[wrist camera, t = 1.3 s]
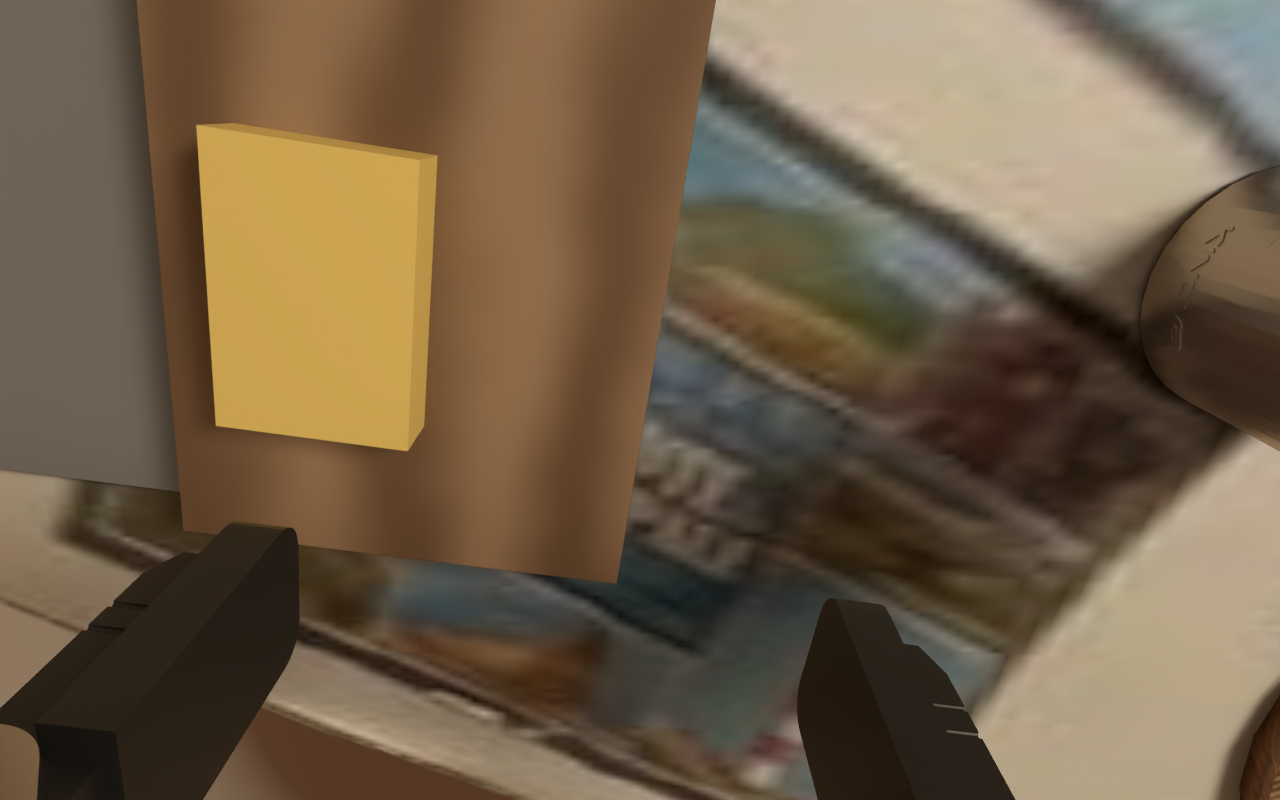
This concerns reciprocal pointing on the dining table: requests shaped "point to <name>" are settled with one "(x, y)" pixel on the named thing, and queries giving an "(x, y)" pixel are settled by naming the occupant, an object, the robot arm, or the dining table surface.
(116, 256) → the mat
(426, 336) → the tile
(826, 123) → the dining table surface
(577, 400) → the deck
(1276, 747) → the trivet
